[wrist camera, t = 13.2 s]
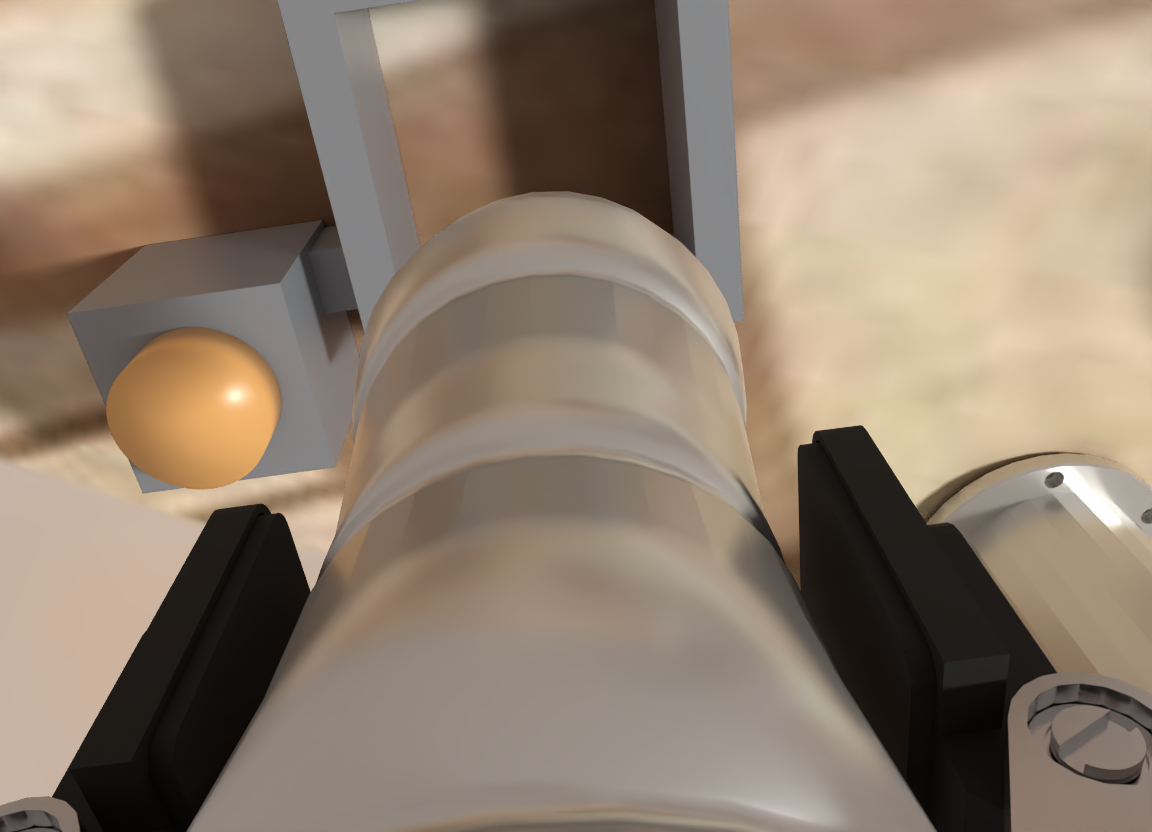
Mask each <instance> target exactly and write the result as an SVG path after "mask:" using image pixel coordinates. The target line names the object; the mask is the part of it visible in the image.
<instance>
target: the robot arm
mask: <svg viewBox="0 0 1152 832" xmlns="http://www.w3.org/2000/svg"><path fill="white" fill-rule="evenodd" d="M798 494H799V536H800V579H801V594H802V596H803V598H804V600H805V602H806V604H807V606H808V608H809V611H810V613H811V615H812V617H813V619H814V621H815V623H816V625H817V627H818V630H819V632H820V634H821V636H822V638H823V640H824V642H825V644H826V647H827V649H828V651H829V653H830V655H831V657H832V659H833V661H834V663H835V666H836V668H837V670H838V672H839V674H840V676H841V678H842V680H843V682H844V684H845V685H846V687H847V689H848V690H849V692H850V693H851V695H852V697H853V698H854V700H855V701H856V703H857V704H858V706H859V708H860V709H861V711H862V712H863V714H864V716H865V717H866V719H867V720H868V722H869V724H870V725H871V727H872V728H873V730H874V732H875V733H876V735H877V736H878V738H879V739H880V741H881V743H882V744H883V746H884V747H885V749H886V751H887V752H888V754H889V755H890V757H891V759H892V760H893V762H894V763H895V765H896V767H897V768H898V770H899V771H900V773H901V774H902V776H903V778H904V779H905V781H906V782H907V784H908V786H909V787H910V789H911V790H912V792H913V794H914V795H915V797H916V798H917V800H918V802H919V803H920V805H921V806H922V808H923V809H924V811H925V813H926V814H927V816H928V817H929V819H930V821H931V822H932V824H933V825H934V827H935V829H936V830H937V832H1152V488H1151V486H1149V485H1148V484H1147V483H1146V482H1145V481H1144V480H1142V479H1141V478H1140V477H1139V476H1138V475H1137V474H1135V473H1134V472H1133V471H1132V470H1130V469H1128V468H1126V467H1124V466H1122V465H1120V464H1118V463H1116V462H1114V461H1111V460H1108V459H1104V458H1100V457H1096V456H1093V455H1083V454H1069V453H1064V454H1053V455H1043V456H1037V457H1033V458H1029V459H1025V460H1021V461H1017V462H1013V463H1011V464H1009V465H1006V466H1004V467H1001V468H999V469H996V470H994V471H992V472H989V473H987V474H985V475H984V476H982V477H980V478H979V479H977V480H975V481H974V482H972V483H970V484H969V485H967V486H965V487H964V488H963V489H961V490H960V491H959V492H958V493H956V494H955V495H954V496H953V497H951V498H950V499H949V500H948V501H946V502H945V503H944V504H943V505H942V506H941V507H940V508H939V510H938V511H937V512H936V513H935V514H934V515H933V516H932V517H931V518H930V519H929V521H928V522H927V523H926V522H925V521H924V519H923V518H922V516H921V515H920V513H919V512H918V510H917V508H916V507H915V505H914V504H913V502H912V501H911V499H910V497H909V496H908V494H907V493H906V491H905V490H904V488H903V487H902V485H901V483H900V482H899V480H898V479H897V477H896V476H895V474H894V473H893V471H892V469H891V468H890V466H889V465H888V463H887V462H886V460H885V458H884V457H883V455H882V454H881V452H880V451H879V449H878V448H877V446H876V444H875V443H874V441H873V440H872V438H871V437H870V435H869V434H868V432H867V430H866V429H865V428H864V427H863V426H860V425H859V426H852V427H844V428H836V429H829V430H821V431H815V433H814V434H813V440H812V444H805V445H800V446H799V448H798ZM309 594H310V589H309V586H308V583H307V580H306V577H305V574H304V571H303V568H302V565H301V562H300V559H299V556H298V553H297V550H296V547H295V544H294V541H293V538H292V535H291V532H290V529H289V526H288V523H287V521H286V519H285V517H284V516H283V515H282V514H281V513H276V514H271V512H270V510H269V509H268V508H267V506H266V505H264V504H255V505H247V506H240V507H232V508H224V509H218V510H215V511H214V512H213V514H212V515H211V516H210V518H209V520H208V522H207V523H206V525H205V527H204V529H203V531H202V532H201V534H200V536H199V538H198V540H197V541H196V543H195V545H194V547H193V549H192V550H191V552H190V554H189V556H188V557H187V559H186V561H185V563H184V565H183V566H182V568H181V570H180V572H179V574H178V575H177V577H176V579H175V581H174V583H173V584H172V586H171V588H170V590H169V591H168V593H167V595H166V597H165V599H164V601H163V602H162V604H161V606H160V608H159V609H158V611H157V613H156V615H155V617H154V618H153V620H152V622H151V624H150V626H149V627H148V629H147V631H146V632H145V633H144V634H143V636H142V637H141V639H140V641H139V643H138V644H137V646H136V648H135V650H134V652H133V653H132V655H131V657H130V659H129V660H128V662H127V664H126V666H125V668H124V669H123V671H122V673H121V675H120V677H119V678H118V680H117V682H116V684H115V685H114V687H113V689H112V691H111V693H110V694H109V696H108V698H107V700H106V702H105V703H104V705H103V707H102V709H101V710H100V712H99V714H98V716H97V718H96V719H95V721H94V723H93V725H92V726H91V728H90V730H89V732H88V734H87V736H86V737H85V739H84V741H83V743H82V744H81V746H80V748H79V750H78V751H77V753H76V755H75V757H74V759H73V761H72V762H71V764H70V766H69V768H68V769H67V771H66V773H65V775H64V777H63V778H62V780H61V782H60V784H59V785H58V787H57V789H56V791H55V793H54V794H53V796H52V797H49V796H48V797H31V798H24V799H21V800H18V801H14V802H11V803H7V804H4V805H1V806H0V832H187V830H188V828H189V826H190V825H191V823H192V821H193V820H194V818H195V816H196V814H197V813H198V811H199V809H200V808H201V806H202V804H203V802H204V801H205V799H206V797H207V796H208V794H209V792H210V790H211V789H212V787H213V785H214V784H215V782H216V780H217V778H218V777H219V775H220V773H221V771H222V770H223V768H224V766H225V765H226V763H227V761H228V759H229V758H230V756H231V754H232V753H233V751H234V749H235V747H236V746H237V744H238V742H239V741H240V739H241V737H242V735H243V734H244V732H245V730H246V729H247V727H248V725H249V723H250V722H251V720H252V718H253V717H254V715H255V713H256V711H257V710H258V708H259V706H260V705H261V703H262V701H263V699H264V697H265V695H266V692H267V690H268V688H269V685H270V683H271V681H272V679H273V676H274V674H275V672H276V669H277V667H278V665H279V663H280V660H281V658H282V656H283V653H284V651H285V649H286V647H287V644H288V642H289V640H290V637H291V635H292V633H293V631H294V628H295V626H296V624H297V621H298V619H299V617H300V615H301V612H302V610H303V608H304V606H305V603H306V601H307V599H308V596H309Z"/></svg>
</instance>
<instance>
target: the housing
mask: <svg viewBox="0 0 1152 832" xmlns="http://www.w3.org/2000/svg"><path fill="white" fill-rule="evenodd" d="M411 1H418V0H278V4H279V8H280V12H281V16H282V19H283V23H284V27H285V31H286V35H287V39H288V42H289V46H290V50H291V54H292V58H293V62H294V65H295V69H296V73H297V77H298V81H299V84H300V88H301V92H302V96H303V100H304V104H305V107H306V111H307V115H308V119H309V123H310V126H311V130H312V134H313V138H314V142H315V146H316V149H317V153H318V157H319V161H320V165H321V169H322V172H323V176H324V180H325V184H326V188H327V191H328V195H329V199H330V203H331V207H332V211H333V214H334V218H335V222H336V226H331V227H324V225H323V221H322V220H319V221H312V222H305V223H298V224H291V225H284V226H277V227H270V228H263V229H256V230H249V231H242V232H235V233H228V234H221V235H214V236H207V237H200V238H193V239H186V240H179V241H172V242H165V243H158V244H151V245H145V246H144V247H143V248H141V249H140V250H139V251H138V252H137V253H136V254H134V255H133V256H132V257H131V258H130V259H129V260H128V261H126V262H125V263H124V264H123V265H122V266H121V267H120V268H118V269H117V270H116V271H115V272H114V273H113V274H111V275H110V276H109V277H108V278H107V279H106V280H105V281H103V282H102V283H101V284H100V285H99V286H98V287H96V288H95V289H94V290H93V291H92V292H91V293H90V294H88V295H87V296H86V297H85V298H84V299H83V300H81V301H80V302H79V303H78V304H77V305H76V306H75V307H73V308H72V309H71V310H70V311H69V312H68V313H67V316H68V318H69V320H70V323H71V325H72V327H73V330H74V332H75V335H76V337H77V339H78V342H79V344H80V346H81V349H82V351H83V353H84V356H85V358H86V360H87V363H88V365H89V368H90V370H91V372H92V375H93V377H94V379H95V382H96V384H97V386H98V389H99V391H100V393H101V396H102V398H103V401H104V403H105V405H106V406H107V398H108V395H109V391H110V389H111V387H112V385H113V383H114V381H115V380H116V378H117V377H118V375H119V374H120V373H121V372H122V371H123V370H124V369H125V367H126V366H127V365H128V364H129V363H130V362H131V361H132V360H133V358H134V357H135V356H136V355H137V354H138V353H139V352H140V351H141V349H142V348H143V347H144V346H145V345H146V344H147V343H148V342H150V341H151V340H152V339H154V338H155V337H157V336H159V335H161V334H163V333H165V332H168V331H171V330H174V329H179V328H185V327H204V328H210V329H215V330H219V331H222V332H225V333H228V334H230V335H233V336H235V337H237V338H238V339H240V340H242V341H244V342H245V343H247V344H248V345H250V346H251V347H252V348H254V349H255V350H256V351H257V352H258V353H259V354H260V355H261V356H262V357H263V358H264V359H265V360H266V361H267V363H268V364H269V366H270V367H271V368H272V370H273V372H274V374H275V376H276V378H277V380H278V383H279V385H280V389H281V394H282V412H281V417H280V420H279V423H278V425H277V427H276V429H275V431H274V433H273V436H272V438H271V440H270V442H269V444H268V446H267V448H266V450H265V452H264V454H263V456H262V458H261V459H260V461H259V463H258V464H257V465H256V466H255V468H254V469H253V470H252V471H251V472H249V473H248V474H247V475H246V476H244V477H243V478H241V479H240V480H245V479H252V478H260V477H267V476H274V475H281V474H289V473H296V472H303V471H311V470H318V469H325V468H333V467H335V466H336V463H337V460H338V458H339V455H340V452H341V449H342V446H343V443H344V440H345V437H346V435H347V432H348V429H349V426H350V423H351V420H352V412H353V403H354V394H355V385H356V376H357V369H358V361H359V355H358V351H357V348H356V344H355V340H354V336H353V333H352V329H351V325H350V321H349V318H348V314H347V311H348V310H355V309H358V310H359V314H360V318H361V321H362V325H363V329H364V333H365V330H366V327H367V324H368V321H369V319H370V316H371V313H372V310H373V308H374V307H375V305H376V303H377V302H378V300H379V298H380V296H381V295H382V293H383V291H384V290H385V288H386V286H387V285H388V283H389V281H390V280H391V278H392V277H393V276H394V275H395V274H396V272H397V271H398V270H399V269H400V268H401V267H402V266H403V265H404V264H405V263H406V262H407V261H408V259H409V258H410V257H411V256H412V255H413V254H414V253H415V252H416V251H417V250H418V249H419V248H420V244H419V239H418V235H417V230H416V226H415V221H414V216H413V212H412V207H411V203H410V198H409V194H408V189H407V185H406V180H405V176H404V171H403V166H402V162H401V157H400V153H399V148H398V144H397V139H396V135H395V130H394V125H393V121H392V116H391V112H390V107H389V103H388V98H387V94H386V89H385V85H384V80H383V75H382V71H381V66H380V62H379V57H378V53H377V48H376V44H375V39H374V35H373V30H372V25H371V21H370V16H369V12H368V8H371V7H378V6H384V5H391V4H398V3H405V2H411ZM654 2H655V14H656V26H657V38H658V50H659V62H660V74H661V86H662V98H663V110H664V122H665V134H666V146H667V158H668V170H669V182H670V194H671V206H672V218H673V229H674V233H672V234H670V235H671V236H673V237H674V238H676V239H677V240H679V241H680V242H681V243H682V244H683V245H684V246H685V247H686V248H687V249H688V250H689V251H690V252H691V253H692V254H693V255H694V256H695V257H696V258H697V259H698V260H699V261H700V262H701V264H702V265H703V266H704V267H705V268H706V269H707V270H708V272H709V273H710V275H711V277H712V278H713V280H714V281H715V283H716V285H717V286H718V288H719V290H720V291H721V293H722V295H723V296H724V298H725V300H726V302H727V305H728V308H729V311H730V314H731V317H732V320H733V322H740V321H744V313H743V293H742V272H741V252H740V231H739V210H738V190H737V169H736V149H735V128H734V108H733V87H732V66H731V46H730V25H729V5H728V0H654ZM129 462H130V464H131V467H132V469H133V471H134V474H135V476H136V478H137V481H138V483H139V485H140V488H141V490H142V493H150V492H157V491H165V490H172V489H179V488H182V487H178V486H174V485H170V484H168V483H165V482H162V481H160V480H158V479H156V478H154V477H152V476H150V475H148V474H147V473H145V472H144V471H142V470H141V469H139V468H138V467H137V466H135V465H134V464H133V463H132V462H131V461H130V460H129Z"/></svg>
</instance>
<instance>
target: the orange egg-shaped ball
mask: <svg viewBox="0 0 1152 832" xmlns="http://www.w3.org/2000/svg"><path fill="white" fill-rule="evenodd" d="M106 412H107V420H108V425H109V428H110V431H111V434H112V436H113V438H114V440H115V442H116V444H117V445H118V447H119V448H120V450H121V451H122V452H123V453H124V454H125V456H126V457H127V458H128V459H129V460H130V461H131V462H132V463H133V464H134V465H135V466H137V467H138V468H139V469H141V470H142V471H144V472H145V473H147V474H148V475H150V476H152V477H154V478H156V479H158V480H160V481H162V482H165V483H168V484H170V485H174V486H178V487H182V488H189V489H213V488H218V487H223V486H226V485H229V484H232V483H234V482H236V481H238V480H240V479H241V478H243V477H244V476H246V475H247V474H248V473H249V472H251V471H252V470H253V469H254V468H255V466H256V465H257V464H258V463H259V461H260V459H261V458H262V456H263V454H264V452H265V450H266V448H267V446H268V444H269V442H270V440H271V438H272V436H273V433H274V431H275V429H276V427H277V425H278V423H279V420H280V417H281V412H282V394H281V389H280V385H279V383H278V380H277V378H276V376H275V374H274V372H273V370H272V368H271V367H270V366H269V364H268V363H267V361H266V360H265V359H264V358H263V357H262V356H261V355H260V354H259V353H258V352H257V351H256V350H255V349H254V348H252V347H251V346H250V345H248V344H247V343H245V342H244V341H242V340H240V339H238V338H237V337H235V336H233V335H230V334H228V333H225V332H222V331H219V330H215V329H210V328H204V327H185V328H179V329H174V330H171V331H168V332H165V333H163V334H161V335H159V336H157V337H155V338H154V339H152V340H151V341H150V342H148V343H147V344H146V345H145V346H144V347H143V348H142V349H141V351H140V352H139V353H138V354H137V355H136V356H135V357H134V358H133V360H132V361H131V362H130V363H129V364H128V365H127V366H126V367H125V369H124V370H123V371H122V372H121V373H120V374H119V375H118V377H117V378H116V380H115V381H114V383H113V385H112V387H111V389H110V391H109V395H108V398H107V406H106Z"/></svg>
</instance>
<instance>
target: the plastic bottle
mask: <svg viewBox="0 0 1152 832" xmlns="http://www.w3.org/2000/svg"><path fill="white" fill-rule="evenodd" d="M746 409H747V404H746V394H745V385H744V375H743V367H742V360H741V354H740V347H739V341H738V334H737V331H736V328H735V325H734V322H733V320H732V317H731V314H730V311H729V308H728V305H727V302H726V300H725V298H724V296H723V295H722V293H721V291H720V290H719V288H718V286H717V285H716V283H715V281H714V280H713V278H712V277H711V275H710V273H709V272H708V270H707V269H706V268H705V267H704V266H703V265H702V264H701V262H700V261H699V260H698V259H697V258H696V257H695V256H694V255H693V254H692V253H691V252H690V251H689V250H688V249H687V248H686V247H685V246H684V245H683V244H682V243H681V242H680V241H679V240H677V239H676V238H674V237H673V236H671V235H670V234H669V233H667V232H666V231H664V230H663V229H661V228H660V227H658V226H657V225H655V224H654V223H652V222H651V221H649V220H648V219H647V218H645V217H644V216H642V215H641V214H639V213H638V212H636V211H635V210H632V209H630V208H627V207H625V206H622V205H620V204H617V203H615V202H612V201H610V200H607V199H605V198H602V197H597V196H591V195H586V194H580V193H575V192H569V191H556V192H530V193H526V194H521V195H517V196H512V197H508V198H504V199H499V200H496V201H494V202H491V203H489V204H487V205H485V206H483V207H480V208H478V209H476V210H474V211H471V212H469V213H467V214H465V215H463V216H462V217H461V218H459V219H458V220H456V221H455V222H454V223H452V224H451V225H449V226H448V227H447V228H445V229H444V230H442V231H441V232H440V233H438V234H437V235H435V236H434V237H433V238H432V239H430V240H429V241H428V242H426V243H425V244H424V245H423V246H421V247H420V248H419V249H418V250H417V251H416V252H415V253H414V254H413V255H412V256H411V257H410V258H409V259H408V261H407V262H406V263H405V264H404V265H403V266H402V267H401V268H400V269H399V270H398V271H397V272H396V274H395V275H394V276H393V277H392V278H391V280H390V281H389V283H388V285H387V286H386V288H385V290H384V291H383V293H382V295H381V296H380V298H379V300H378V302H377V303H376V305H375V307H374V308H373V310H372V313H371V316H370V319H369V321H368V324H367V327H366V330H365V333H364V336H363V339H362V342H361V346H360V353H359V361H358V369H357V376H356V385H355V394H354V403H353V412H352V426H353V442H354V448H353V453H352V457H351V462H350V467H349V472H348V477H347V482H346V487H345V491H344V496H343V501H342V506H341V511H340V516H339V521H338V525H337V530H336V535H335V538H334V540H333V542H332V544H331V547H330V549H329V551H328V553H327V556H326V558H325V560H324V563H323V565H322V568H321V571H320V574H319V577H318V579H317V582H316V585H315V586H314V588H313V589H312V591H311V592H310V594H309V596H308V599H307V601H306V603H305V606H304V608H303V610H302V612H301V615H300V617H299V619H298V621H297V624H296V626H295V628H294V631H293V633H292V635H291V637H290V640H289V642H288V644H287V647H286V649H285V651H284V653H283V656H282V658H281V660H280V663H279V665H278V667H277V669H276V672H275V674H274V676H273V679H272V681H271V683H270V685H269V688H268V690H267V692H266V695H265V697H264V699H263V701H262V703H261V705H260V706H259V708H258V710H257V711H256V713H255V715H254V717H253V718H252V720H251V722H250V723H249V725H248V727H247V729H246V730H245V732H244V734H243V735H242V737H241V739H240V741H239V742H238V744H237V746H236V747H235V749H234V751H233V753H232V754H231V756H230V758H229V759H228V761H227V763H226V765H225V766H224V768H223V770H222V771H221V773H220V775H219V777H218V778H217V780H216V782H215V784H214V785H213V787H212V789H211V790H210V792H209V794H208V796H207V797H206V799H205V801H204V802H203V804H202V806H201V808H200V809H199V811H198V813H197V814H196V816H195V818H194V820H193V821H192V823H191V825H190V826H189V828H188V830H187V832H937V830H936V829H935V827H934V825H933V824H932V822H931V821H930V819H929V817H928V816H927V814H926V813H925V811H924V809H923V808H922V806H921V805H920V803H919V802H918V800H917V798H916V797H915V795H914V794H913V792H912V790H911V789H910V787H909V786H908V784H907V782H906V781H905V779H904V778H903V776H902V774H901V773H900V771H899V770H898V768H897V767H896V765H895V763H894V762H893V760H892V759H891V757H890V755H889V754H888V752H887V751H886V749H885V747H884V746H883V744H882V743H881V741H880V739H879V738H878V736H877V735H876V733H875V732H874V730H873V728H872V727H871V725H870V724H869V722H868V720H867V719H866V717H865V716H864V714H863V712H862V711H861V709H860V708H859V706H858V704H857V703H856V701H855V700H854V698H853V697H852V695H851V693H850V692H849V690H848V689H847V687H846V685H845V684H844V682H843V680H842V678H841V676H840V674H839V672H838V670H837V668H836V666H835V663H834V661H833V659H832V657H831V655H830V653H829V651H828V649H827V647H826V644H825V642H824V640H823V638H822V636H821V634H820V632H819V630H818V627H817V625H816V623H815V621H814V619H813V617H812V615H811V613H810V611H809V608H808V606H807V604H806V602H805V600H804V598H803V596H802V594H801V592H800V589H799V587H798V585H797V583H796V581H795V579H794V577H793V576H792V574H791V573H790V571H789V570H788V568H787V567H786V564H785V561H784V559H783V556H782V553H781V550H780V547H779V545H778V543H777V541H776V539H775V537H774V535H773V533H772V531H771V529H770V527H769V524H768V522H767V520H766V518H765V514H764V510H763V505H762V501H761V497H760V492H759V488H758V484H757V479H756V475H755V470H754V466H753V462H752V457H751V453H750V449H749V444H748V440H747V435H746Z"/></svg>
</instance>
